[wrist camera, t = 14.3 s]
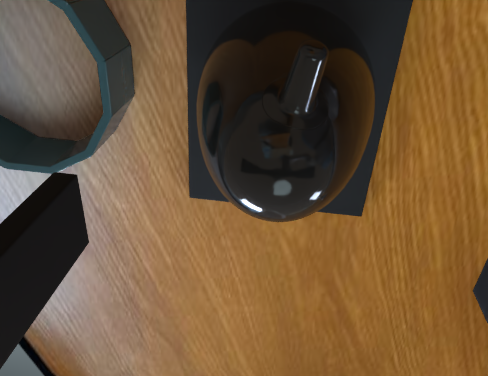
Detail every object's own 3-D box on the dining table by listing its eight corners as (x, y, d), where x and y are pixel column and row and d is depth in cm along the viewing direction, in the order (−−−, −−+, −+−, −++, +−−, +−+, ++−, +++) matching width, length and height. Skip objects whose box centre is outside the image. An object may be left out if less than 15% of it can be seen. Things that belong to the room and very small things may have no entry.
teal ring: (-74, -50, 29) (-133, -46, 25) (124, -36, 28) (95, -30, 24) (-20, 137, 36) (-58, 162, 32) (140, 153, 35) (119, 181, 31)
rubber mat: (186, -133, 24) (183, -135, 24) (438, -121, 23) (442, -122, 23) (191, 192, 36) (189, 197, 35) (360, 211, 35) (361, 216, 34)
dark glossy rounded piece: (391, 12, 26) (475, 91, 13) (335, 157, 32) (357, 313, 19) (230, -30, 26) (158, 9, 13) (202, 123, 32) (132, 256, 19)
